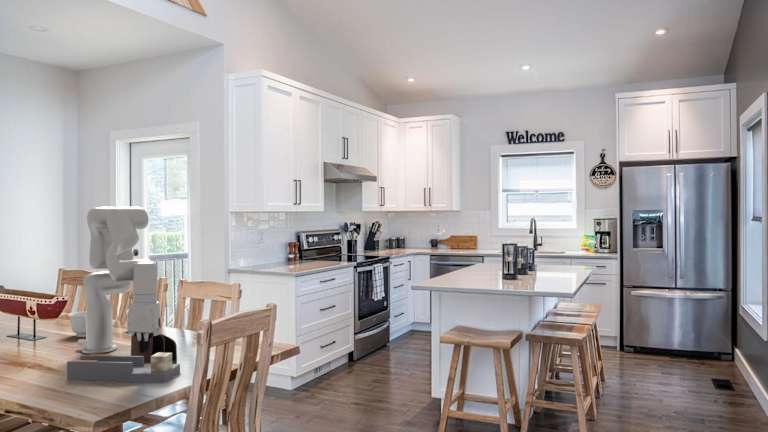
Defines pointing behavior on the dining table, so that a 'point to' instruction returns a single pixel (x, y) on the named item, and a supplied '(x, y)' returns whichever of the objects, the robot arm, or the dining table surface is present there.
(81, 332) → the teacup
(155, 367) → the birch block
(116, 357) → the grey stepped platform
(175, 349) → the letter holder
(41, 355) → the dining table surface
